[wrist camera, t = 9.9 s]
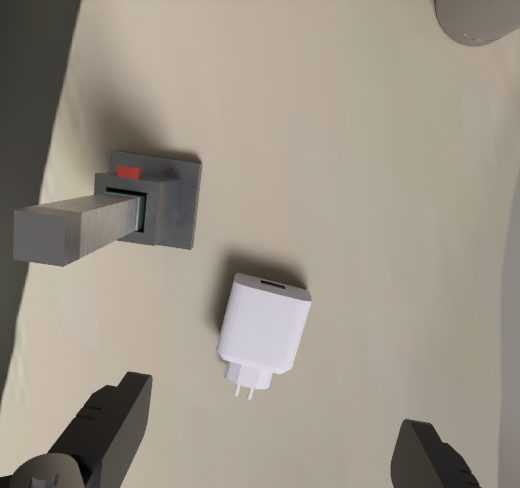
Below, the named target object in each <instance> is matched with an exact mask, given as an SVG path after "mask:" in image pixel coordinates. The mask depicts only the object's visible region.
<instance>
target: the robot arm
mask: <svg viewBox="0 0 520 488" xmlns="http://www.w3.org/2000/svg"><path fill="white" fill-rule="evenodd" d="M435 8H436V13H437V18H438V20H439V23H440V25H441V27H442V28H443V30H444V31H445V33H446V34H447V35H448V36H449V37H451V38H452V39H453V40H455V41H457V42H458V43H460V44H464V45H468V46H481V45H486V44H489V43H491V42H494V41H496V40H498V39H500V38H502V37H504V36H505V35H507V34H509V33H511V32H513V31H515V30H517V29H519V28H520V0H436V4H435ZM151 388H152V375H147V374H141V373H135V372H127V373H126V375H125V376H124V378H123V379H122V381H121V382H120V384H119V385H118V386H117V387H116V386H110V385H106V386H104V387H103V388H101V389H100V390H98V391H96V392H95V393H93V394H92V395H91V397H90V398H89V399H88V400H87V402H86V403H85V404H84V406H83V408H81V410H80V411H79V412H78V413H77V415H76V417H75V418H74V419H73V420H72V421H71V423H70V424H69V425H68V426H67V428H66V429H65V430H64V432H63V433H62V434H61V436H60V437H59V438H58V439H57V441H56V442H55V443H54V445H53V446H52V447H51V449H50V450H49V451H48V453H47V454H43V455H39V456H36V457H34V458H32V459H30V460H28V461H26V462H25V463H23V464H22V465H21V466H20V467H19V468H18V469H17V470H16V471H15V472H14V473H13V475H10V476H5V477H0V488H120V486H121V484H122V482H123V480H124V477H125V475H126V473H127V471H128V469H129V467H130V465H131V462H132V460H133V458H134V456H135V454H136V452H137V450H138V448H139V445H140V443H141V441H142V439H143V436H144V433H145V430H146V426H147V421H148V414H149V406H150V397H151ZM391 479H392V483H393V486H394V488H481V487H479V483H478V481H477V480H476V478H475V476H474V475H472V472H471V470H470V468H469V467H468V465H467V464H466V462H465V460H464V459H463V457H462V456H461V455H460V454H459V453H457V452H456V451H455V450H454V449H453V448H452V447H451V446H450V445H449V444H448V443H443V442H442V441H441V439H440V437H439V435H438V434H437V432H436V430H435V429H434V427H433V426H432V424H430V423H427V422H421V421H415V420H409V419H405V420H404V421H403V422H402V425H401V428H400V432H399V435H398V439H397V442H396V446H395V449H394V453H393V456H392V460H391Z"/></svg>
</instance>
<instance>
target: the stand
mask: <svg viewBox="0 0 520 488" xmlns="http://www.w3.org/2000/svg"><path fill="white" fill-rule="evenodd" d="M201 172H202V164H201V163H195V162H188V161H181V160H174V159H167V158H161V157H154V156H147V155H140V154H134V153H127V152H120V151H112V155H111V170H110V172H107V173H95V188H94V195H96V194H101V193H106V192H108V191H118V190H128V191H135V192H142V193H147V201H146V212H145V224H144V226H143V227H141V229H139V230H137V231H136V230H135V231H133V232H131V233H129V234H127V235H125V236H123V237H121V238H119V239H117V240H118V241H125V242H131V243H138V244H145V245H152V246H155V245H162V246H169V247H175V248H182V249H189V250H191V249H192V248H193V243H194V234H195V225H196V216H197V207H198V199H199V190H200V181H201Z"/></svg>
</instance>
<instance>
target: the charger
mask: <svg viewBox="0 0 520 488" xmlns="http://www.w3.org/2000/svg"><path fill="white" fill-rule="evenodd" d="M261 280H263V281H267V282H271V283H274V284H278V285H282V286H285V288H283V287H279V286H275V285H271V284H267V283H263V282H261ZM311 302H312V299H311V296H310V292H309V291H307V290H305V289H302V288H298V287H294V286H290V285H286V284H282V283H278V282H274V281H270V280H266V279H263V278H259V277H255V276H251V275H247V274H243V273H236V274H235V278H234V281H233V285H232V289H231V293H230V297H229V301H228V305H227V309H226V313H225V316H224V320H223V324H222V328H221V332H220V336H219V340H218V344H217V348H216V350H217V352H218V353H219V354H220V356H221V357H222V359H224V360H226V361H228V364H227V368H226V371H225V375H224V377H225V378H226V379H227V380H229V381H231V382H233V383H234V384H236V388H235V392H234V396H238V393H239V390H240V386H244V387H248V388H250V389H249V393H248V396H247V399H249V400H250V399H251V397H252V394H253V390H254V389H267V388H269V385H270V381H271V378H272V374H273V373H278V374H281V373H283V372H286V371H288V370H290V369H291V368H292V366H293V362H294V359H295V356H296V352H297V349H298V346H299V342H300V339H301V336H302V332H303V329H304V326H305V322H306V319H307V316H308V312H309V309H310V306H311Z"/></svg>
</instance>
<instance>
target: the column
mask: <svg viewBox="0 0 520 488" xmlns="http://www.w3.org/2000/svg"><path fill="white" fill-rule="evenodd" d="M146 201H147V193H142V192H135V191H128V190H118V191H108V192H106V193H101V194H96V195H91V196H85V197H80V198H74V199H69V200H63V201H58V202H52V203H47V204H41V205H36V206H31V207H25V208H20V209H14V248H13V249H14V250H13V254H14V255H13V259H15V260H21V261H28V262H35V263H42V264H48V265H55V266H62V267H64V266H66V265H68V264H70V263H72V262H74V261H76V260H78V259H80V258H82V257H84V256H86V255H88V254H90V253H92V252H94V251H96V250H98V249H100V248H102V247H104V246H106V245H107V244H109V243H111V242H113V241H115V240H117V239H119V238H121V237H123V236H125V235H127V234H129V233H131V232H133V231H135V230H136V231H137V230H139V229H141V227H143V226H144V224H145V212H146Z"/></svg>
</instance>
